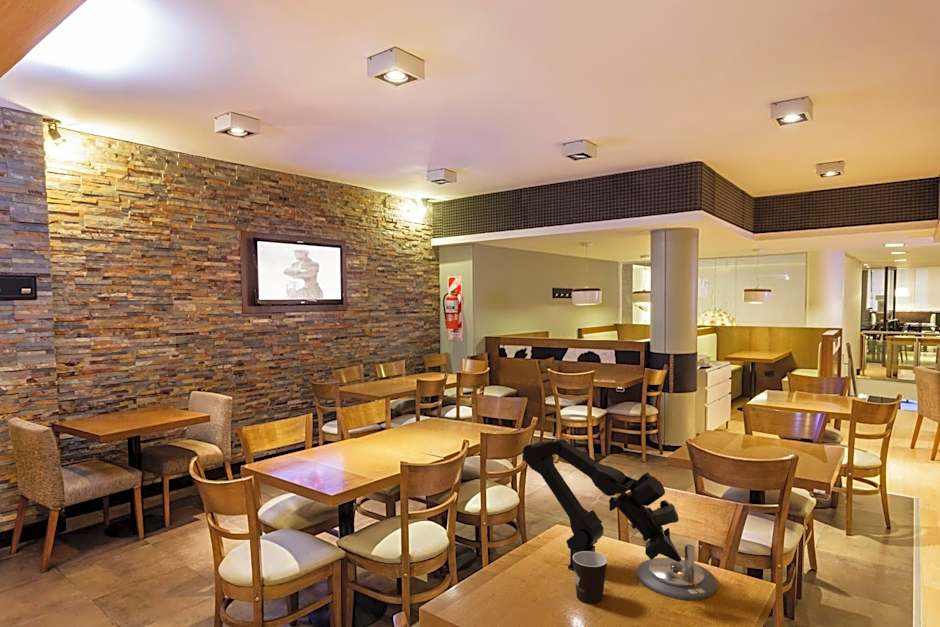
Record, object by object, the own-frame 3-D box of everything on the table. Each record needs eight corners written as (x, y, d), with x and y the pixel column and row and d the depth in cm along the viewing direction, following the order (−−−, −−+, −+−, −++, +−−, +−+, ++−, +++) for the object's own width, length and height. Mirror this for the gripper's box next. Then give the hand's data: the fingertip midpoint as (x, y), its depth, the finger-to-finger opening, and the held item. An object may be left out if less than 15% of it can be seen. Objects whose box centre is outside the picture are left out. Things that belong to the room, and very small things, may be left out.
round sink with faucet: (639, 564, 157) (640, 528, 157) (684, 560, 160) (685, 524, 159) (670, 593, 141) (671, 553, 141) (720, 588, 144) (720, 549, 144)
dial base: (628, 585, 149) (628, 579, 149) (649, 556, 165) (649, 551, 165) (708, 608, 138) (708, 601, 138) (722, 575, 154) (722, 568, 154)
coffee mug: (607, 608, 137) (607, 568, 137) (571, 604, 139) (572, 564, 139) (605, 585, 149) (606, 547, 149) (572, 581, 151) (573, 544, 150)
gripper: (660, 507, 138) (707, 557, 135) (659, 483, 156) (701, 528, 153) (626, 534, 141) (672, 584, 138) (629, 508, 159) (670, 552, 155)
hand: (680, 560), depth 146 cm, fingers closed
